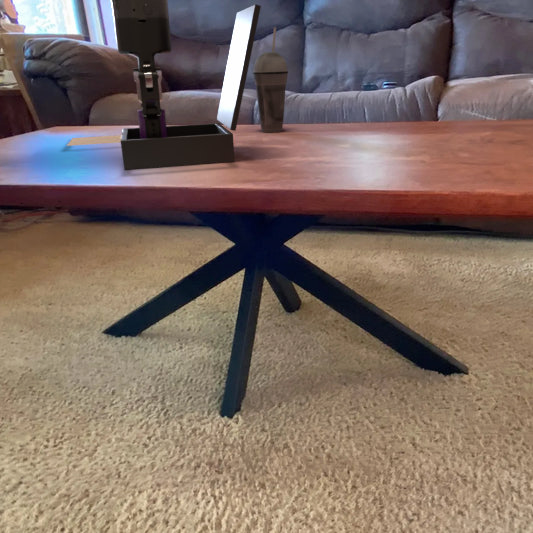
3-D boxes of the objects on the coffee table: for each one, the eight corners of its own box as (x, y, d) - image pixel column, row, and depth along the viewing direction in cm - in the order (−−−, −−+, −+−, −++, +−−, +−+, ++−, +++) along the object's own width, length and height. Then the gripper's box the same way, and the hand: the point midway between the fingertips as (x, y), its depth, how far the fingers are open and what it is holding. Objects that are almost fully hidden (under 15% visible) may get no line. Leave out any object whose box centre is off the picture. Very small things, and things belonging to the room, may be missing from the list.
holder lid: (255, 3, 67) (261, 5, 67) (236, 12, 79) (241, 13, 80) (230, 129, 72) (235, 131, 73) (216, 119, 85) (221, 120, 85)
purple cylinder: (142, 156, 76) (137, 111, 73) (142, 152, 79) (137, 108, 77) (169, 155, 76) (165, 110, 74) (168, 150, 80) (164, 107, 78)
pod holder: (125, 175, 71) (120, 140, 70) (126, 158, 84) (122, 128, 82) (234, 167, 75) (233, 133, 73) (220, 151, 87) (219, 122, 85)
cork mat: (64, 151, 92) (64, 148, 92) (73, 139, 105) (72, 137, 105) (143, 145, 95) (143, 143, 95) (142, 135, 108) (142, 133, 108)
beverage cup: (250, 130, 111) (246, 28, 103) (281, 127, 113) (279, 28, 105) (261, 134, 104) (258, 26, 97) (294, 131, 107) (293, 26, 99)
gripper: (115, 20, 76) (129, 137, 83) (111, 12, 63) (128, 151, 70) (166, 19, 78) (176, 134, 84) (171, 12, 65) (183, 148, 72)
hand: (154, 141), depth 77 cm, fingers closed on purple cylinder, 4 cm apart
